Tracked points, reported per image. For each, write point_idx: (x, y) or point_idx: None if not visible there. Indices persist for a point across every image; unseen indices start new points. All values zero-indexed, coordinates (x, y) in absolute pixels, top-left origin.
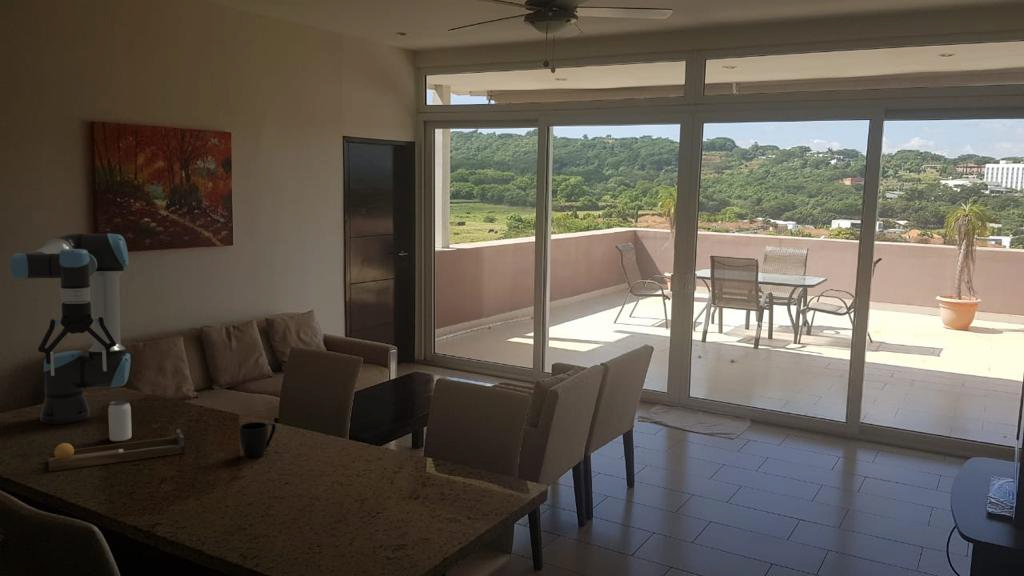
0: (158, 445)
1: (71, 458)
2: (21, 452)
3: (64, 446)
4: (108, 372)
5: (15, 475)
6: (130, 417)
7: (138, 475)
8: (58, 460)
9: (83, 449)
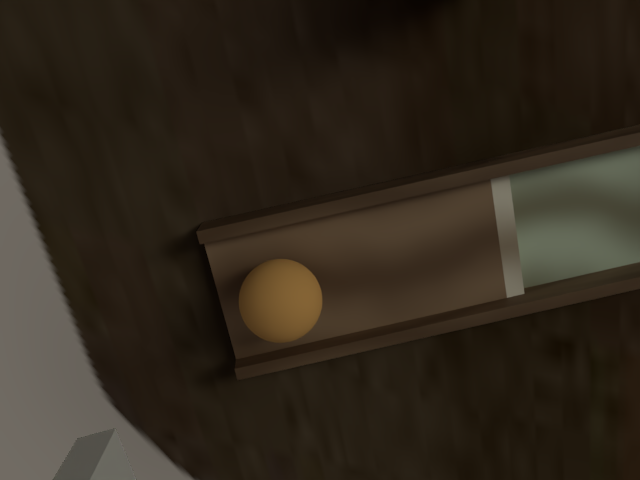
0: None
1: None
2: (26, 49)
3: (288, 335)
4: None
5: (122, 380)
6: None
7: (570, 468)
8: None
9: (346, 211)
